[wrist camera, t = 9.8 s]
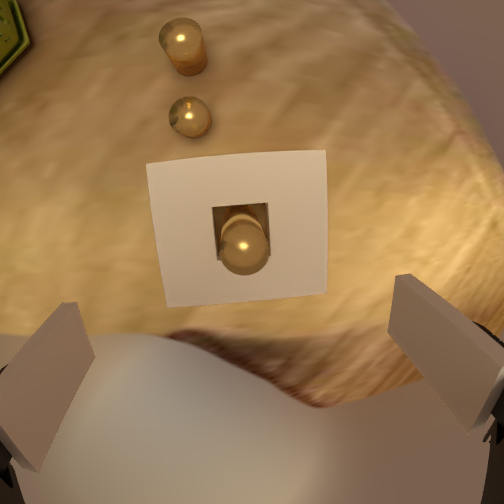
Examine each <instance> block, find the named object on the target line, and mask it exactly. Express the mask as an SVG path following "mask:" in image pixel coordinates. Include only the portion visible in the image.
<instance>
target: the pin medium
mask: <svg viewBox="0 0 504 504" xmlns="http://www.w3.org/2000/svg"><path fill="white" fill-rule="evenodd" d="M159 43H160V45H161V46H162V48H163V49H164V51H165V53H166V54H167V56H168V57H169V59H170V60H171V62H172V64H173V65H174V67H175V68H176V70H177V71H178V72H179V73H180V74H182V75H185V76H194V75H197V74H199V73H200V72H202V71H203V70H204V69H205V67H206V65H207V61H208V59H207V54H206V50H205V45H204V41H203V37H202V32H201V28H200V26H199V25H198V23H197V22H195V21H194V20H192V19H189V18H177V19H174V20H171V21H170V22H168V23H167V24H166V25H164V27H163V28H162V29H161V31H160V34H159Z"/></svg>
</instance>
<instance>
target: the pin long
mask: <svg viewBox="0 0 504 504" xmlns="http://www.w3.org/2000/svg"><path fill="white" fill-rule="evenodd" d="M269 255H270V247H269V244H268V241H267V239H266V237H265V234H264V232H263V230H262V228H261V225H260V223H259V221H258V218H257V216H256V214H255V212H254V210H253V208H252V207H251V206H250V205H248V204H242V205H230V206H228V207H227V208H226V210H225V211H224V214H223V221H222V231H221V242H220V258H221V261H222V263H223V265H224V266H225V267H226V268H227V269H228V270H229V271H230V272H232V273H234V274H237V275H242V276H247V275H252V274H255V273H257V272H259V271H260V270H261V269H262V268H263V267H264V266H265V265H266V263H267V261H268V259H269Z"/></svg>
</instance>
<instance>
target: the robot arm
mask: <svg viewBox="0 0 504 504" xmlns="http://www.w3.org/2000/svg"><path fill="white" fill-rule="evenodd" d="M388 333H389V334H390V336H391V337H392V338H393V339H394V341H395V342H396V343H397V344H398V345H399V347H400V348H401V349H402V350H403V352H404V353H405V354H406V355H407V357H408V358H409V359H410V360H411V362H412V363H413V364H414V365H415V367H416V368H417V369H418V370H419V372H420V373H421V374H422V375H423V377H424V378H425V379H426V381H427V382H428V383H429V384H430V386H431V387H432V388H433V389H434V391H435V392H436V393H437V395H438V396H439V397H440V399H441V400H442V401H443V403H444V404H445V405H446V407H447V408H448V409H449V411H450V412H451V413H452V415H453V416H454V417H455V419H456V420H457V421H458V423H459V424H460V426H461V427H462V428H463V429H464V431H465V432H466V434H467V435H468V434H470V433H472V432H474V431H476V430H477V429H479V428H481V427H483V426H484V425H485V423H486V421H487V419H488V418H489V416H490V414H492V415H493V416H494V417H495V418H496V419H495V420H494V422H493V424H492V425H491V427H490V429H489V430H488V432H487V433H486V435H485V437H484V439H483V442H486V440H487V439H488V437H489V436H490V435H491V440H490V441H489V443H490V452H489V460H488V467H487V474H486V480H485V485H484V491H483V496H482V500H481V504H504V343H503V342H502V341H500V339H499V338H497V337H496V336H495V335H493V333H491V332H490V331H489V330H488V329H487V328H485V327H484V326H482V325H480V324H478V323H476V322H474V321H471V320H470V319H469V318H467V317H466V316H465V315H464V314H462V313H461V312H460V311H459V310H457V309H456V308H455V307H454V306H452V305H451V304H450V303H448V302H447V301H446V300H445V299H443V298H442V297H441V296H439V295H438V294H437V293H436V292H434V291H433V290H432V289H430V288H429V287H428V286H426V285H425V284H424V283H422V282H421V281H420V280H418V279H417V278H416V277H414V276H413V275H412V274H404V275H397V276H395V285H394V293H393V300H392V307H391V314H390V320H389V326H388ZM94 358H95V356H94V353H93V350H92V347H91V345H90V342H89V339H88V336H87V333H86V330H85V327H84V324H83V321H82V318H81V315H80V311H79V308H78V305H77V302H74V303H62V304H61V305H60V306H59V307H58V308H57V309H56V310H55V311H54V312H53V313H52V314H51V316H50V317H49V318H48V319H47V320H46V321H45V322H44V323H43V324H42V325H41V327H40V328H39V329H38V330H37V331H36V332H35V333H34V334H33V336H32V337H31V338H30V339H29V340H28V341H27V343H26V344H25V345H24V346H23V347H22V349H21V350H20V351H19V352H18V353H17V354H16V356H15V357H14V358H13V359H12V361H11V362H10V363H9V364H7V365H6V366H5V367H3V368H2V369H1V370H0V504H25V502H24V499H23V496H22V493H21V490H20V487H19V484H18V481H17V477H16V474H15V471H14V469H13V466H12V465H11V464H10V463H9V462H10V460H11V458H12V457H13V458H14V459H15V460H16V461H17V463H18V464H19V465H20V466H21V467H22V468H25V469H28V470H31V471H34V472H37V473H39V471H40V469H41V467H42V464H43V462H44V459H45V457H46V455H47V453H48V450H49V448H50V446H51V444H52V441H53V439H54V437H55V435H56V433H57V431H58V429H59V426H60V424H61V422H62V420H63V418H64V416H65V414H66V412H67V410H68V408H69V406H70V404H71V402H72V400H73V398H74V396H75V394H76V392H77V390H78V388H79V386H80V384H81V382H82V380H83V379H84V377H85V374H86V373H87V371H88V369H89V367H90V365H91V364H92V362H93V360H94Z"/></svg>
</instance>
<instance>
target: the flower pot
mask: <svg viewBox="0 0 504 504" xmlns="http://www.w3.org/2000/svg"><path fill="white" fill-rule="evenodd" d="M29 43H30V41H29V37H28V34H27V31H26V28H25V24H24V21H23V18H22V15H21V12H20V9H19V6H18V3H17V0H0V75H1V73H2V72H3V71H4V70H5V69H6V68H7V67H8V66H9V65H10V64H11V63H12V62H13V61H14V60H15V59H16V58H17V57H18V56H19V55H20V54H21V53H22V52H23V51H24V50H25V49H26V48H27V47H28V45H29Z"/></svg>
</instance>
